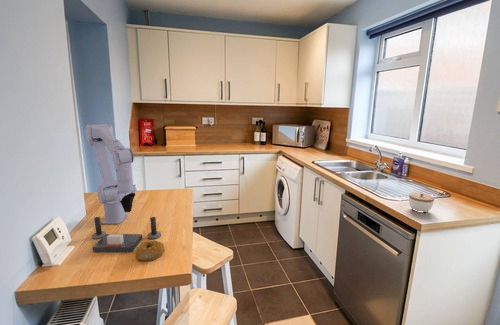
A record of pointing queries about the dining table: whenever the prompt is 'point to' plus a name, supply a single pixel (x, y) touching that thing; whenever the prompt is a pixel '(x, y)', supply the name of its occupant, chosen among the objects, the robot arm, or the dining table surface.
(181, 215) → the dining table surface
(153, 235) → the cable post
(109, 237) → the breaker paddle
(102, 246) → the breaker block
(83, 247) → the dining table surface
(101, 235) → the cable post
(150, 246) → the bagel
